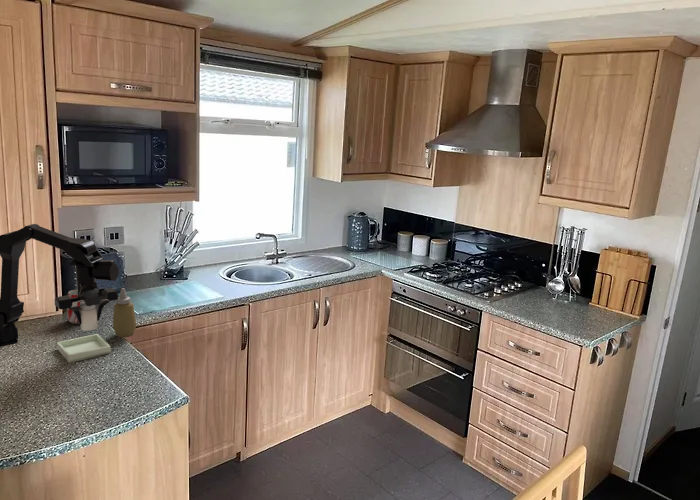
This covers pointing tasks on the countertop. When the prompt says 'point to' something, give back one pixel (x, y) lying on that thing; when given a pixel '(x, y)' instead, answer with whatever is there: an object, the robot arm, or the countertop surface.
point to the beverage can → (71, 314)
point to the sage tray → (83, 348)
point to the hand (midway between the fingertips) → (89, 322)
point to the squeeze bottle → (124, 316)
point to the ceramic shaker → (88, 317)
